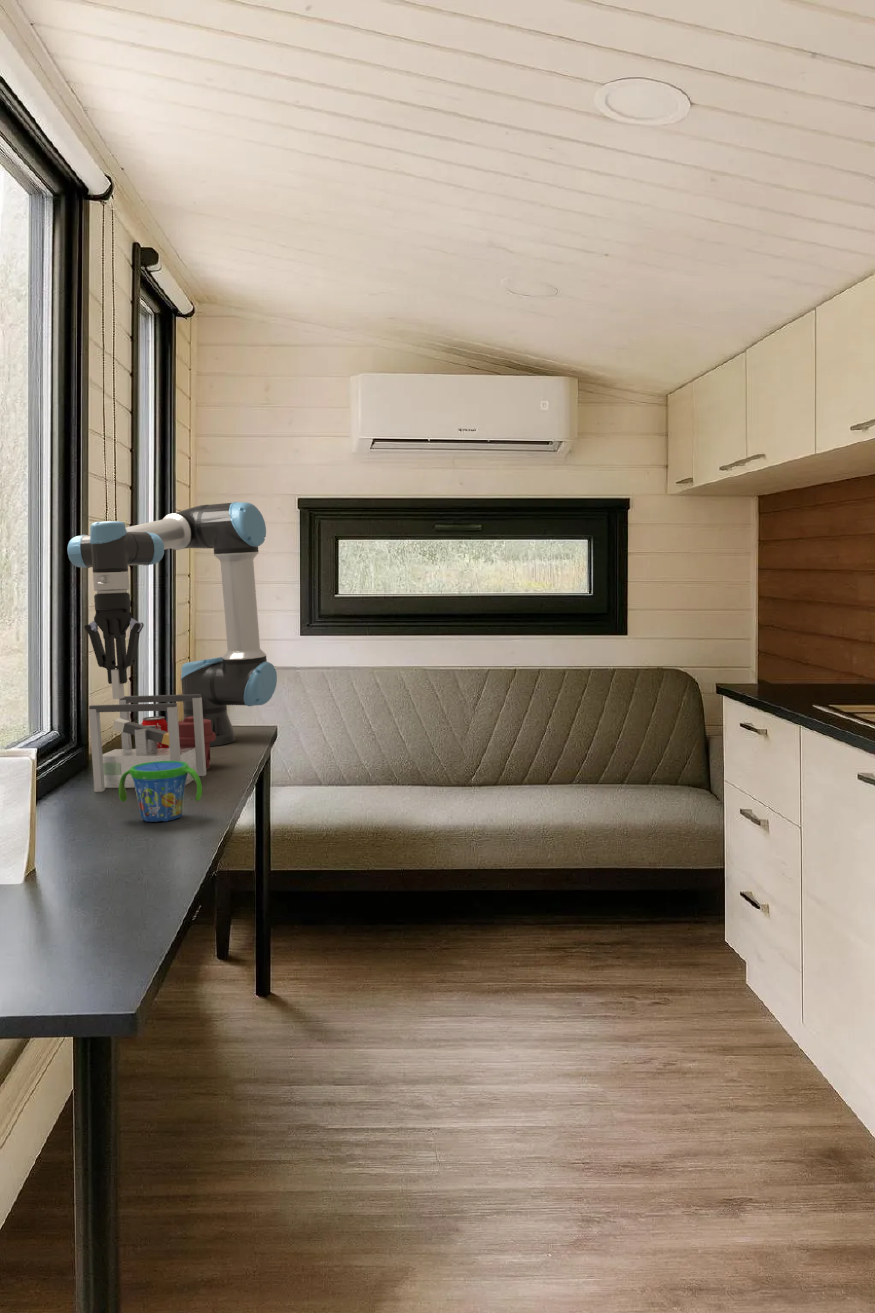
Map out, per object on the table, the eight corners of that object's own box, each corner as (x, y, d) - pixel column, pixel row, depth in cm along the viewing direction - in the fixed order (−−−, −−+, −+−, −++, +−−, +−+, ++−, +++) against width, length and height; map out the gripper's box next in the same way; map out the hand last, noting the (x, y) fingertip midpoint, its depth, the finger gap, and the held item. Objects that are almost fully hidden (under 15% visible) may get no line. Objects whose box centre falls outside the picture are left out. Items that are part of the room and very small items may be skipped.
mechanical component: (183, 764, 241) (222, 763, 240) (168, 773, 231) (209, 772, 230) (180, 714, 240) (219, 713, 239) (164, 721, 230) (206, 719, 229)
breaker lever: (118, 727, 222) (120, 718, 221) (176, 743, 220) (178, 734, 220) (112, 729, 219) (114, 720, 218) (171, 746, 218) (173, 737, 217)
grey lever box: (117, 779, 226) (113, 725, 225) (197, 778, 224) (193, 723, 223) (98, 788, 217) (95, 732, 216) (182, 787, 215) (178, 730, 214)
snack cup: (212, 812, 191) (209, 760, 190) (188, 826, 180) (184, 771, 179) (138, 811, 194) (134, 760, 193) (110, 825, 183) (106, 771, 183)
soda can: (157, 769, 236) (154, 720, 235) (137, 768, 238) (134, 719, 237) (175, 764, 241) (172, 716, 240) (155, 763, 244) (152, 715, 243)
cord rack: (127, 776, 230) (121, 696, 228) (206, 774, 227) (201, 694, 226) (94, 792, 213) (88, 706, 212) (179, 790, 211) (174, 704, 209)
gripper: (75, 593, 214) (83, 701, 216) (133, 591, 213) (140, 699, 215) (91, 592, 222) (98, 697, 224) (147, 590, 220) (153, 695, 222)
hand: (118, 698), depth 219 cm, fingers closed
